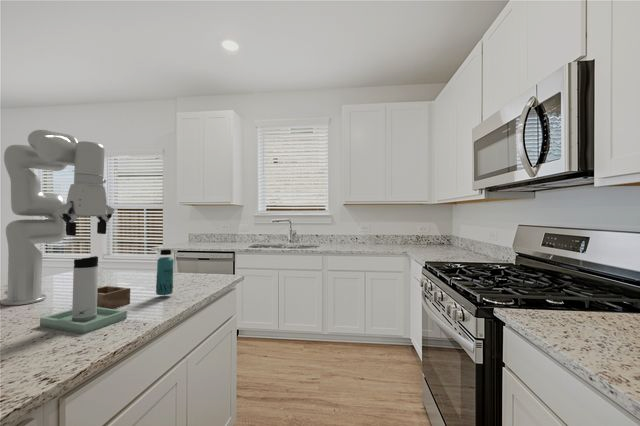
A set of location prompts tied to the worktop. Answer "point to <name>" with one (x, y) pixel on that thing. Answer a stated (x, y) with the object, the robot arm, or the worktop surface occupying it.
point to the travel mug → (85, 289)
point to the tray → (65, 321)
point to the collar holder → (112, 297)
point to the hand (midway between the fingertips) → (86, 234)
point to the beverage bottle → (164, 274)
